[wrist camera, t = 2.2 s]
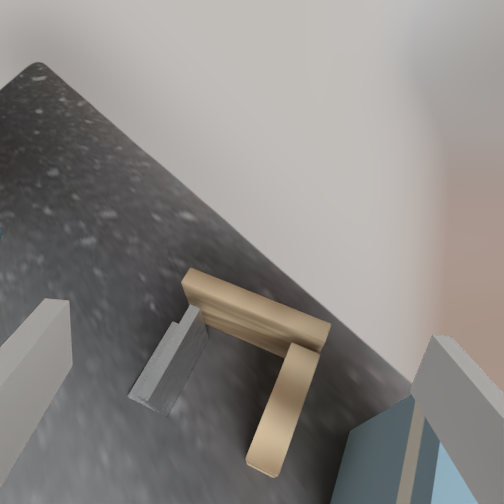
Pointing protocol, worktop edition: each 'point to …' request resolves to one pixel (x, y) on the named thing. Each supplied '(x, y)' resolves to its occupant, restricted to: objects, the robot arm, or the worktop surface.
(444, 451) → the book
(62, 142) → the worktop surface
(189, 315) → the bookend
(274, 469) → the oak shelf
